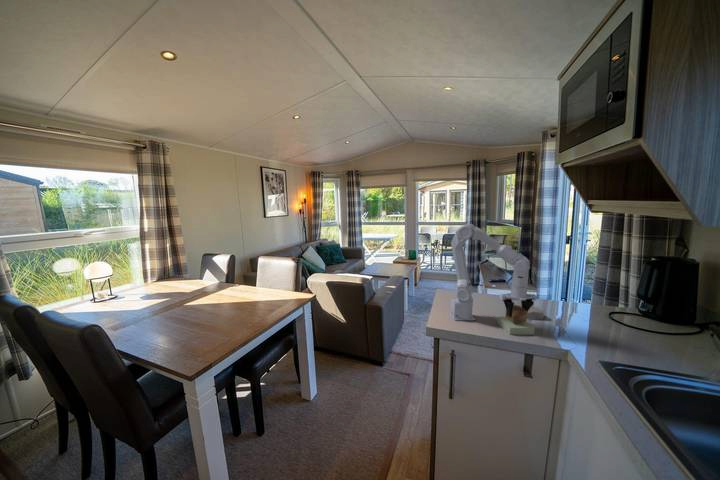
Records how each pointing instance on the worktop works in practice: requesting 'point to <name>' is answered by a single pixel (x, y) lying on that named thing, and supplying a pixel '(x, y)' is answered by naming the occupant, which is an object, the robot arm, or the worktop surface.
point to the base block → (516, 327)
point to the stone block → (533, 313)
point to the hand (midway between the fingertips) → (516, 315)
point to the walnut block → (517, 314)
